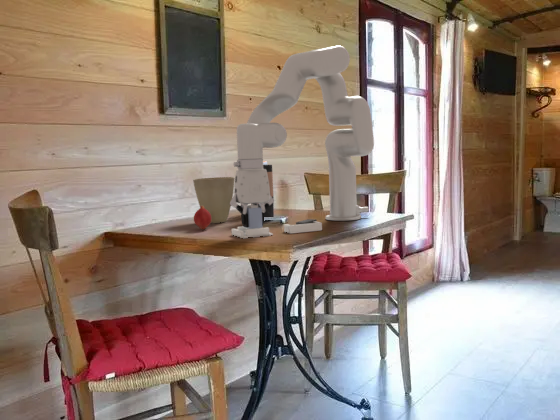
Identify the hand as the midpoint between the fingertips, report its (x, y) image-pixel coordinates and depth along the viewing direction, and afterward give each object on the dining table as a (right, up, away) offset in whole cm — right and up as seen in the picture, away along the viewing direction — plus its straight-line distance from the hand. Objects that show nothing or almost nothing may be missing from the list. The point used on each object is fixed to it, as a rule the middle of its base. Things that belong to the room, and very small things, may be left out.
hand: (253, 225), depth 174 cm
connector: (0, -1, 0) cm, 0 cm away
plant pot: (-15, 0, +36) cm, 39 cm away
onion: (-17, -2, +17) cm, 24 cm away
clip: (+15, -2, +6) cm, 16 cm away
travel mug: (+2, +1, +36) cm, 36 cm away
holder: (0, -3, 0) cm, 3 cm away
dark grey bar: (+17, -2, +9) cm, 19 cm away
